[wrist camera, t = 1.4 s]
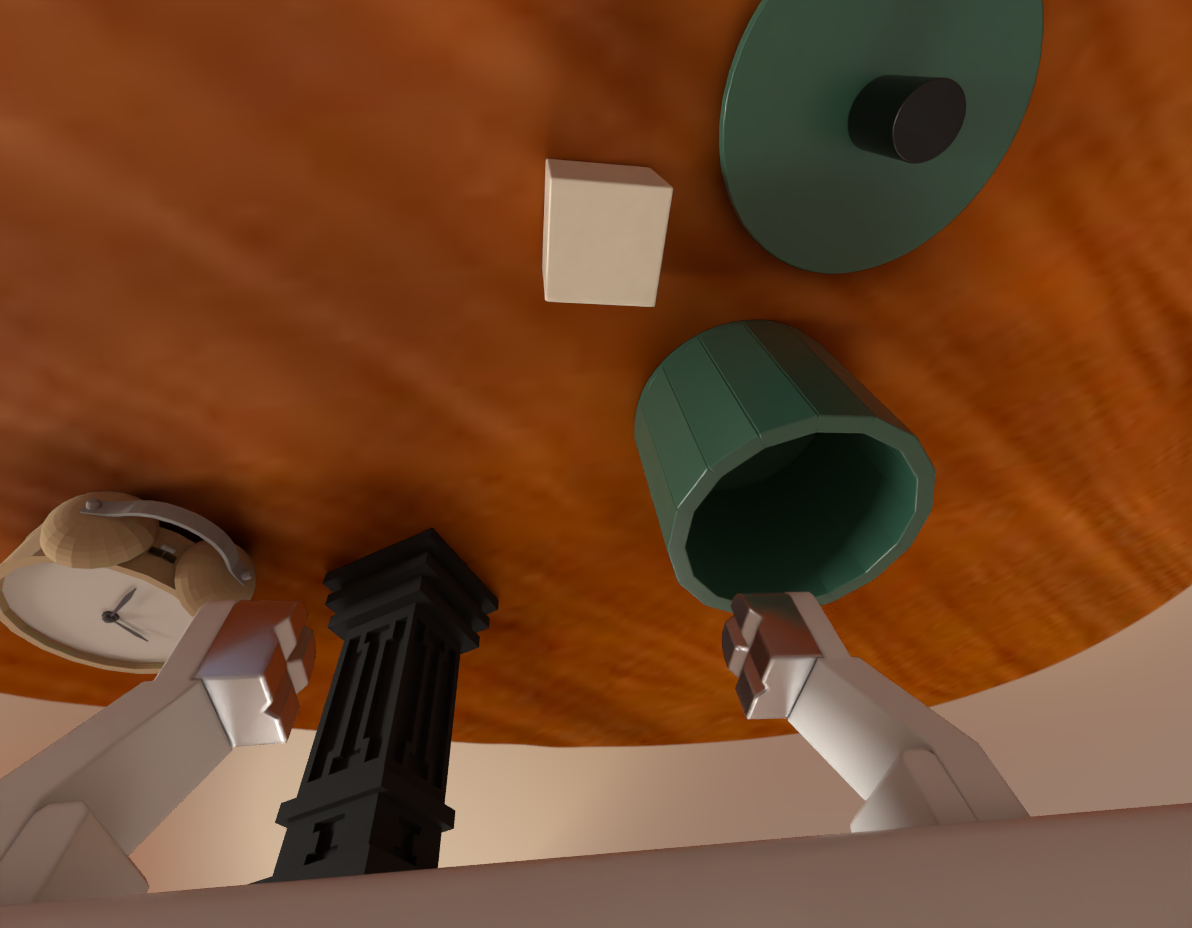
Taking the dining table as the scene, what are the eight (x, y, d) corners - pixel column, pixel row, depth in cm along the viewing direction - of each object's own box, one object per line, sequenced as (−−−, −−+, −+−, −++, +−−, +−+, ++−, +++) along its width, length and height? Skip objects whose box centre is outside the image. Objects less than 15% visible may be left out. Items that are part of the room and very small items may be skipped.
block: (545, 158, 23) (549, 176, 19) (651, 167, 24) (674, 187, 20) (542, 267, 26) (545, 302, 22) (637, 273, 26) (654, 307, 23)
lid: (759, -131, 19) (819, -178, 15) (1089, -76, 20) (1217, -106, 17) (688, 257, 26) (715, 292, 22) (933, 273, 28) (997, 308, 24)
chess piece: (498, 600, 39) (481, 981, 23) (402, 639, 40) (322, 1023, 24) (432, 527, 34) (353, 940, 18) (326, 573, 36) (165, 995, 20)
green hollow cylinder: (650, 314, 28) (699, 412, 20) (865, 324, 29) (986, 419, 22) (622, 494, 34) (651, 619, 27) (798, 495, 36) (872, 612, 28)
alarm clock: (-45, 625, 31) (20, 507, 24) (24, 554, 35) (98, 433, 27) (167, 694, 36) (271, 615, 29) (207, 626, 40) (308, 542, 33)
